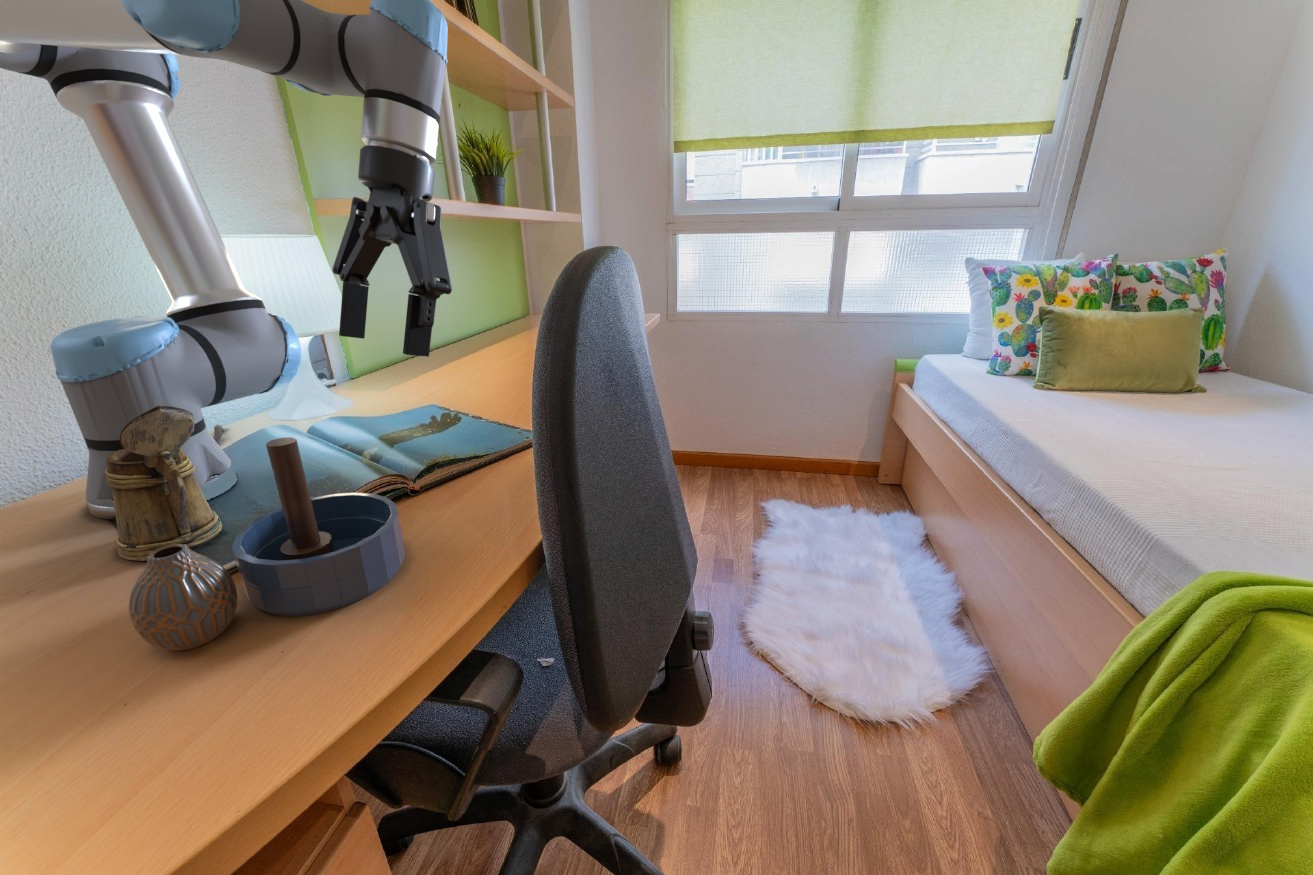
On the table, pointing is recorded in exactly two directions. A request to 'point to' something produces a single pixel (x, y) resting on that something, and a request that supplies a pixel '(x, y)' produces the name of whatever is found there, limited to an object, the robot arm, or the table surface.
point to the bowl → (322, 556)
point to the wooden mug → (157, 486)
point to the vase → (182, 599)
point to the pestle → (296, 502)
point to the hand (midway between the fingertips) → (382, 346)
